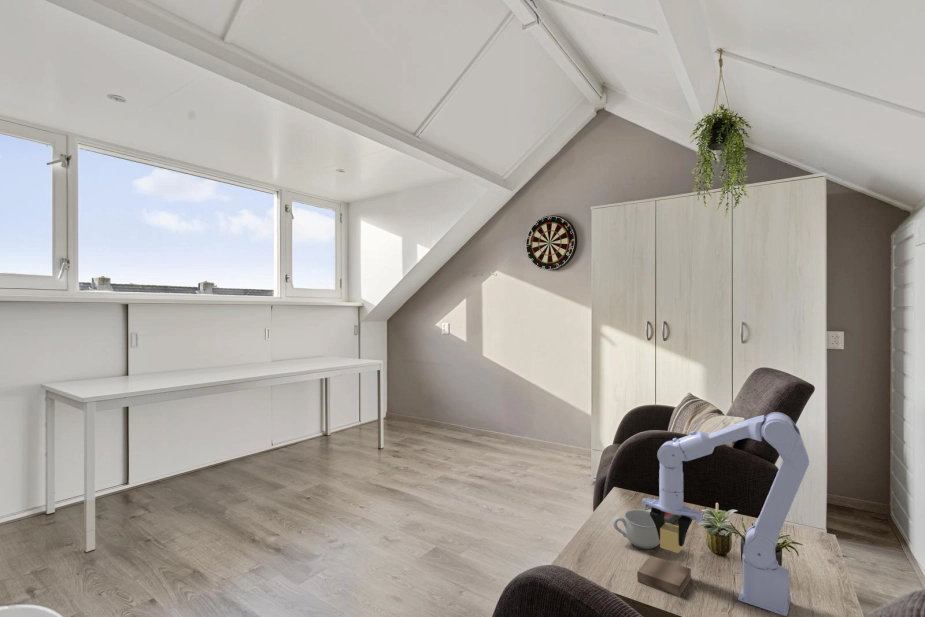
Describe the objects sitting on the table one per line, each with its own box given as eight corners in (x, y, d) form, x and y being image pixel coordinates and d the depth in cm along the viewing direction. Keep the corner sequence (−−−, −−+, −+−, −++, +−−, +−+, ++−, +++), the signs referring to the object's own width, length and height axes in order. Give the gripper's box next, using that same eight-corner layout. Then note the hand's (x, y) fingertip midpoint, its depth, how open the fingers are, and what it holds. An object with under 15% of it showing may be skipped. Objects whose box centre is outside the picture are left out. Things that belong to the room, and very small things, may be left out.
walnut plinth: (690, 578, 119) (690, 568, 119) (679, 596, 112) (679, 586, 112) (650, 565, 126) (650, 555, 126) (637, 581, 118) (637, 571, 118)
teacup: (660, 538, 141) (660, 511, 141) (666, 555, 131) (665, 527, 131) (612, 532, 145) (612, 506, 145) (613, 549, 135) (613, 521, 135)
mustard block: (683, 546, 122) (683, 527, 122) (678, 553, 119) (678, 533, 119) (665, 541, 125) (665, 522, 125) (660, 547, 121) (660, 528, 122)
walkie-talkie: (657, 509, 163) (630, 527, 149) (657, 496, 163) (630, 513, 149) (683, 516, 157) (658, 536, 143) (683, 503, 157) (658, 522, 143)
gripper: (705, 491, 120) (706, 544, 120) (648, 478, 129) (648, 527, 129) (698, 499, 115) (698, 555, 114) (639, 485, 124) (639, 536, 124)
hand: (671, 541), depth 122 cm, fingers closed on mustard block, 4 cm apart
